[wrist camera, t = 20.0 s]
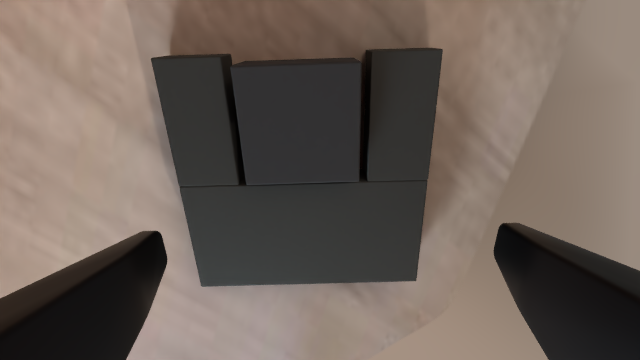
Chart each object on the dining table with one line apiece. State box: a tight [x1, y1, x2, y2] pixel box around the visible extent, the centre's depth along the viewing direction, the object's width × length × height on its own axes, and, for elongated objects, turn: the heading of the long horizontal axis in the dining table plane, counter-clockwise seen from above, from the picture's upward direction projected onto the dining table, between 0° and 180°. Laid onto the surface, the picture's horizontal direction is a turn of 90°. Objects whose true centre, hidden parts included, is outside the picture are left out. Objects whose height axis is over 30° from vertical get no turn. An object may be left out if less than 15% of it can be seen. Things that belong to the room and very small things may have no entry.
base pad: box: [151, 48, 443, 287], centre depth 19 cm, size 14×14×2 cm
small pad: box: [231, 58, 362, 185], centre depth 17 cm, size 6×6×3 cm
